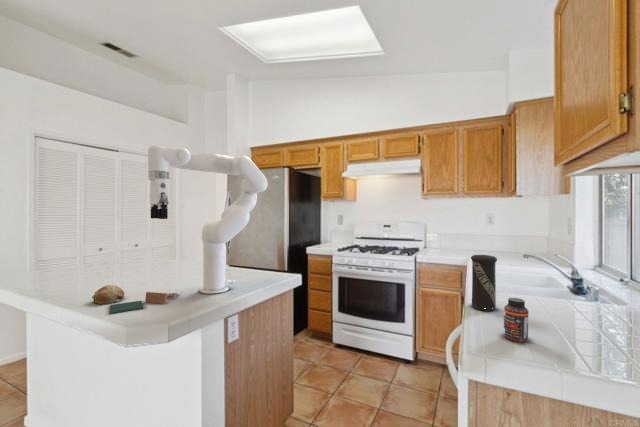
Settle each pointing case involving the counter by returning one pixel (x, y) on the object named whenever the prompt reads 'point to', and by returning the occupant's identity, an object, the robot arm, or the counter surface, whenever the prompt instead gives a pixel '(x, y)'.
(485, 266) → the container
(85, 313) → the counter surface
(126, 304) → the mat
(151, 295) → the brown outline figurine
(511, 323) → the supplement bottle
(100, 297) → the bread roll
